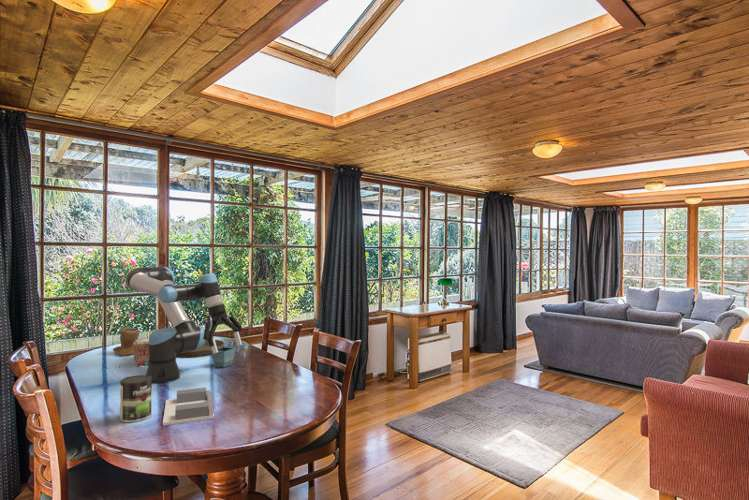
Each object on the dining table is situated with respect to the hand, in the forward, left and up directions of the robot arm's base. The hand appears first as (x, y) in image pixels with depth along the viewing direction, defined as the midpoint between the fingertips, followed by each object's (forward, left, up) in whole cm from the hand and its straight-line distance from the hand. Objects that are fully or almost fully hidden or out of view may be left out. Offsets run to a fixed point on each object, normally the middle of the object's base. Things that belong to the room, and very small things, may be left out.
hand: (228, 349), depth 203 cm
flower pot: (-20, +20, -15) cm, 32 cm away
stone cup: (-90, +19, -15) cm, 93 cm away
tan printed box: (-66, +9, -15) cm, 68 cm away
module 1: (+5, -28, -14) cm, 31 cm away
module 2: (+18, -40, -14) cm, 46 cm away
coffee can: (-2, -47, -15) cm, 50 cm away
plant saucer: (-56, +39, -15) cm, 70 cm away
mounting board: (+11, -35, -15) cm, 39 cm away
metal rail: (+16, -29, -14) cm, 36 cm away
